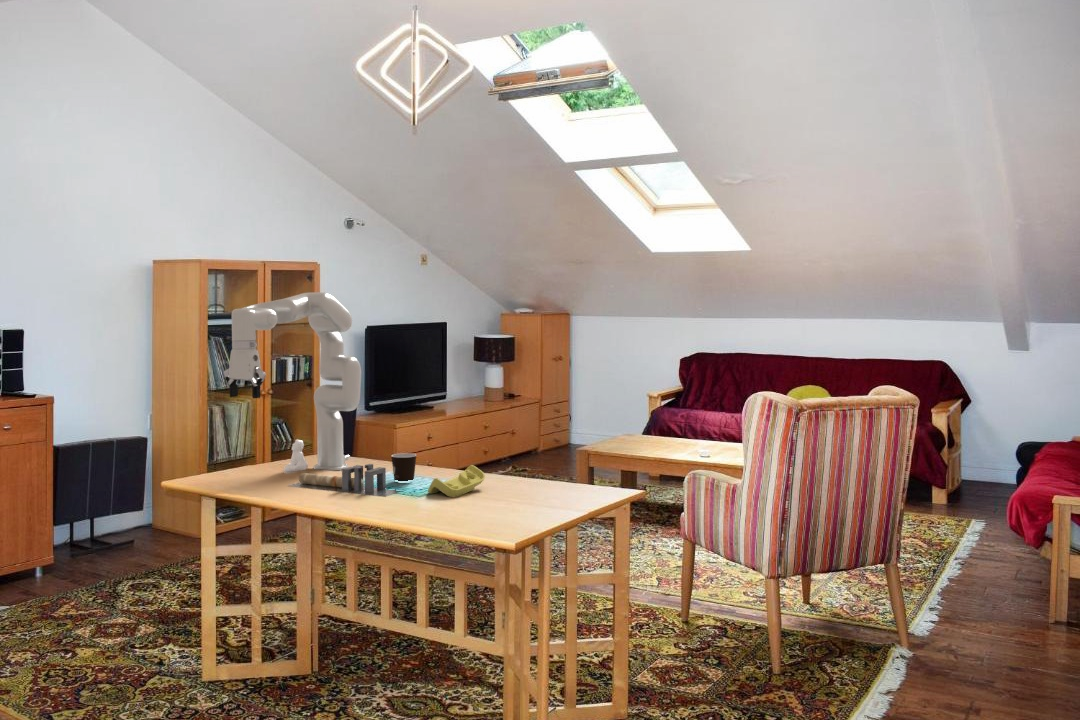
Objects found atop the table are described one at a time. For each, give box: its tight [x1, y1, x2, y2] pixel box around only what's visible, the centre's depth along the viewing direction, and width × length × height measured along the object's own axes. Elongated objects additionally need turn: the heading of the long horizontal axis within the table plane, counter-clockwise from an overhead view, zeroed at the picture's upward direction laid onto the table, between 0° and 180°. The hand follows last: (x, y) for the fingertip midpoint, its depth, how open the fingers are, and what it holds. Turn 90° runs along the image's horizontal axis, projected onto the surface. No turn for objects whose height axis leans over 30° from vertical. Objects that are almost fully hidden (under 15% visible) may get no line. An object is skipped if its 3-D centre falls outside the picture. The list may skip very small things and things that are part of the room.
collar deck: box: [287, 463, 403, 498], centre depth 321 cm, size 12×40×9 cm, turn 65°
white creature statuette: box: [283, 439, 309, 474], centre depth 356 cm, size 10×9×12 cm
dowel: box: [298, 472, 365, 489], centre depth 324 cm, size 24×4×4 cm, turn 65°
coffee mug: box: [390, 452, 417, 481], centre depth 334 cm, size 12×9×10 cm
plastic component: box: [427, 464, 486, 498], centre depth 321 cm, size 20×7×10 cm
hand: (245, 397), depth 320 cm, fingers open, 9 cm apart
